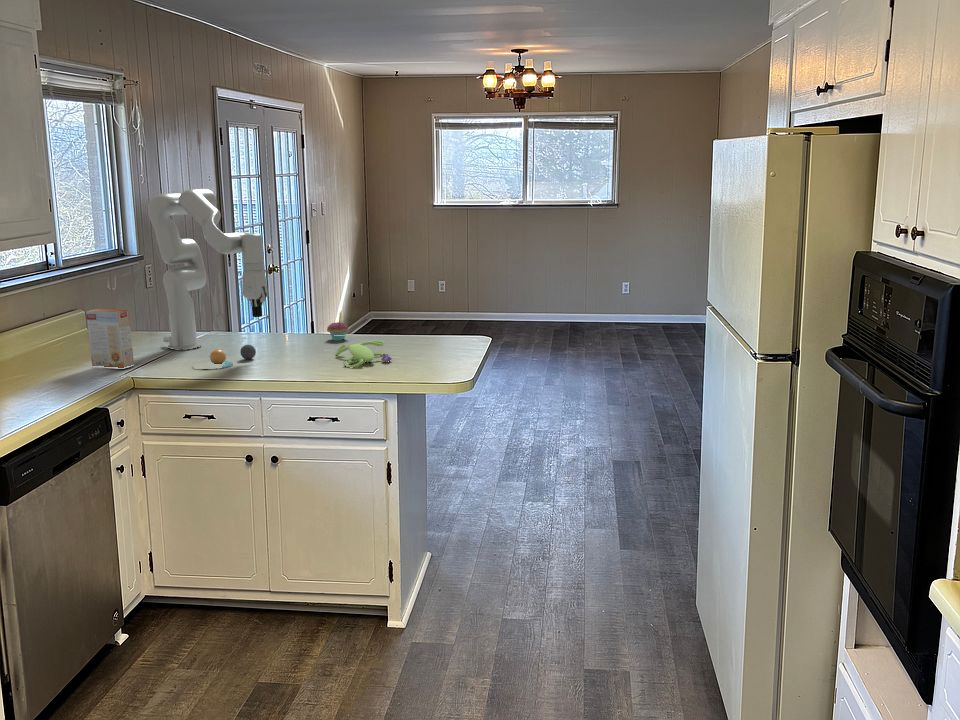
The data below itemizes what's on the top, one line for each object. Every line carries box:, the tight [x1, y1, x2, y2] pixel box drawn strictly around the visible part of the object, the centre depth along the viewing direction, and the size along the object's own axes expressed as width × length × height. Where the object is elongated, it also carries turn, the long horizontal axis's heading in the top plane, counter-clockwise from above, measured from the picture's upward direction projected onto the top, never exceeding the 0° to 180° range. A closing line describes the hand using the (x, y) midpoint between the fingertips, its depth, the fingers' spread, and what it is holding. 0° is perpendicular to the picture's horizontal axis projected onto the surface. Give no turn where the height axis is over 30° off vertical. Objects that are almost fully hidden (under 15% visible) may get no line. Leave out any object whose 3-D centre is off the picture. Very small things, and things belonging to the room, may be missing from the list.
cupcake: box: [326, 311, 349, 342], centre depth 359 cm, size 9×8×12 cm
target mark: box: [222, 360, 234, 369], centre depth 317 cm, size 14×14×1 cm
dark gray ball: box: [239, 344, 257, 360], centre depth 326 cm, size 6×6×6 cm
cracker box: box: [85, 308, 135, 368], centre depth 314 cm, size 14×6×21 cm, turn 71°
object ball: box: [209, 348, 227, 364], centre depth 318 cm, size 6×6×6 cm
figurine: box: [334, 340, 392, 368], centre depth 323 cm, size 18×27×6 cm
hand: (257, 316), depth 328 cm, fingers closed
